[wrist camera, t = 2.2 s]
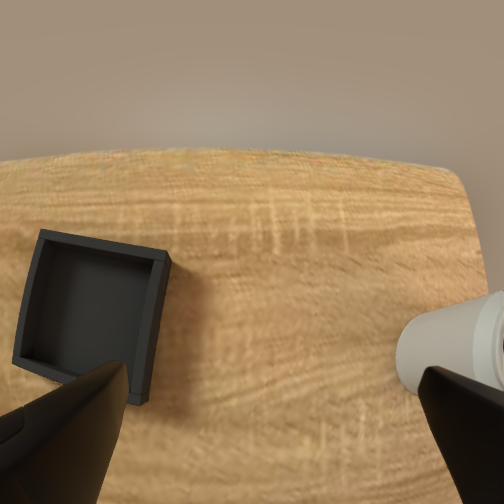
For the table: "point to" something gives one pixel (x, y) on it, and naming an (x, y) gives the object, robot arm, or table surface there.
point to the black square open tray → (91, 309)
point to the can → (455, 342)
